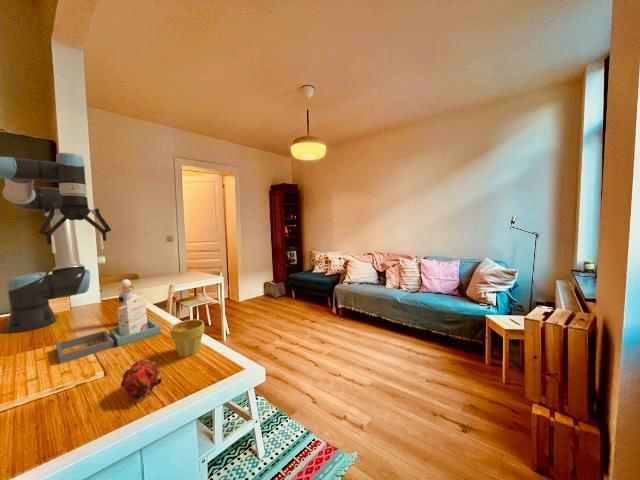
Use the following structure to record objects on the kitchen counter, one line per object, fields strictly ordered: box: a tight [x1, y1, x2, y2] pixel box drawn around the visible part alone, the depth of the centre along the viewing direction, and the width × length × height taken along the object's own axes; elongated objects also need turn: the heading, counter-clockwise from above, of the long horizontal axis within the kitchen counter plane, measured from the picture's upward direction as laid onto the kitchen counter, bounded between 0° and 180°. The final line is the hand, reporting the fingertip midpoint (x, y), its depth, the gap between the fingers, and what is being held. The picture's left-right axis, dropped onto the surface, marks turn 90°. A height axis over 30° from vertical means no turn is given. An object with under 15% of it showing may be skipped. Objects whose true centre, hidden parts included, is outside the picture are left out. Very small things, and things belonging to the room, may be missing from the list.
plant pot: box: [170, 318, 205, 358], centre depth 90 cm, size 10×10×10 cm
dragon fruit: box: [120, 358, 163, 400], centre depth 69 cm, size 8×8×12 cm
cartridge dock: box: [55, 330, 115, 364], centre depth 94 cm, size 14×14×2 cm
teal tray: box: [108, 318, 162, 348], centre depth 105 cm, size 14×14×3 cm
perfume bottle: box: [117, 278, 135, 307], centre depth 118 cm, size 6×6×20 cm
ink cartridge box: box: [116, 294, 148, 337], centre depth 104 cm, size 9×5×15 cm, turn 169°
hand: (79, 251), depth 101 cm, fingers open, 13 cm apart
